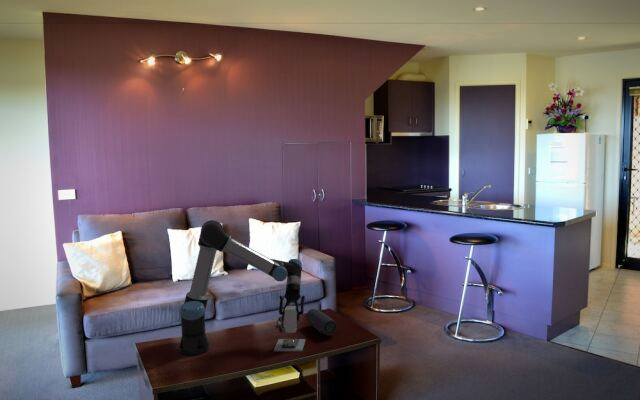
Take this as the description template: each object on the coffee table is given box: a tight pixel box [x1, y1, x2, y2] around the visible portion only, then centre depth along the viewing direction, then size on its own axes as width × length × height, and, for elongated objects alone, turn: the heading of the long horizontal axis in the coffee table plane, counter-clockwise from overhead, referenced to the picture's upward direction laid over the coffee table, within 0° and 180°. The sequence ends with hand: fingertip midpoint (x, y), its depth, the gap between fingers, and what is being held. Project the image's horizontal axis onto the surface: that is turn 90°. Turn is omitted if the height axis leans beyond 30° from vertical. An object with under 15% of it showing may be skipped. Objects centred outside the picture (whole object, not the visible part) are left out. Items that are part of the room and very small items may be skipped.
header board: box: [273, 338, 306, 352], centre depth 267 cm, size 14×14×1 cm
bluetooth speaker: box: [305, 308, 338, 336], centre depth 287 cm, size 23×9×10 cm, turn 25°
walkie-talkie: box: [276, 315, 285, 332], centre depth 298 cm, size 9×4×20 cm
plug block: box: [284, 305, 298, 334], centre depth 268 cm, size 5×6×12 cm
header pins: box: [281, 340, 296, 348], centre depth 262 cm, size 7×2×4 cm, turn 85°
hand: (289, 326), depth 265 cm, fingers closed on plug block, 5 cm apart
